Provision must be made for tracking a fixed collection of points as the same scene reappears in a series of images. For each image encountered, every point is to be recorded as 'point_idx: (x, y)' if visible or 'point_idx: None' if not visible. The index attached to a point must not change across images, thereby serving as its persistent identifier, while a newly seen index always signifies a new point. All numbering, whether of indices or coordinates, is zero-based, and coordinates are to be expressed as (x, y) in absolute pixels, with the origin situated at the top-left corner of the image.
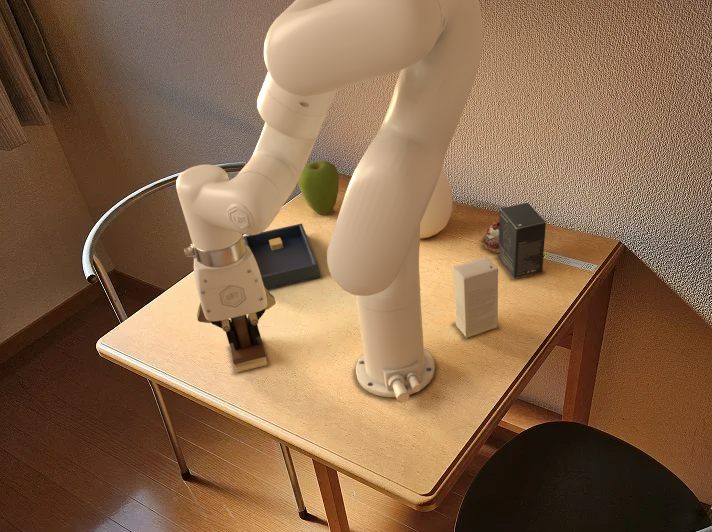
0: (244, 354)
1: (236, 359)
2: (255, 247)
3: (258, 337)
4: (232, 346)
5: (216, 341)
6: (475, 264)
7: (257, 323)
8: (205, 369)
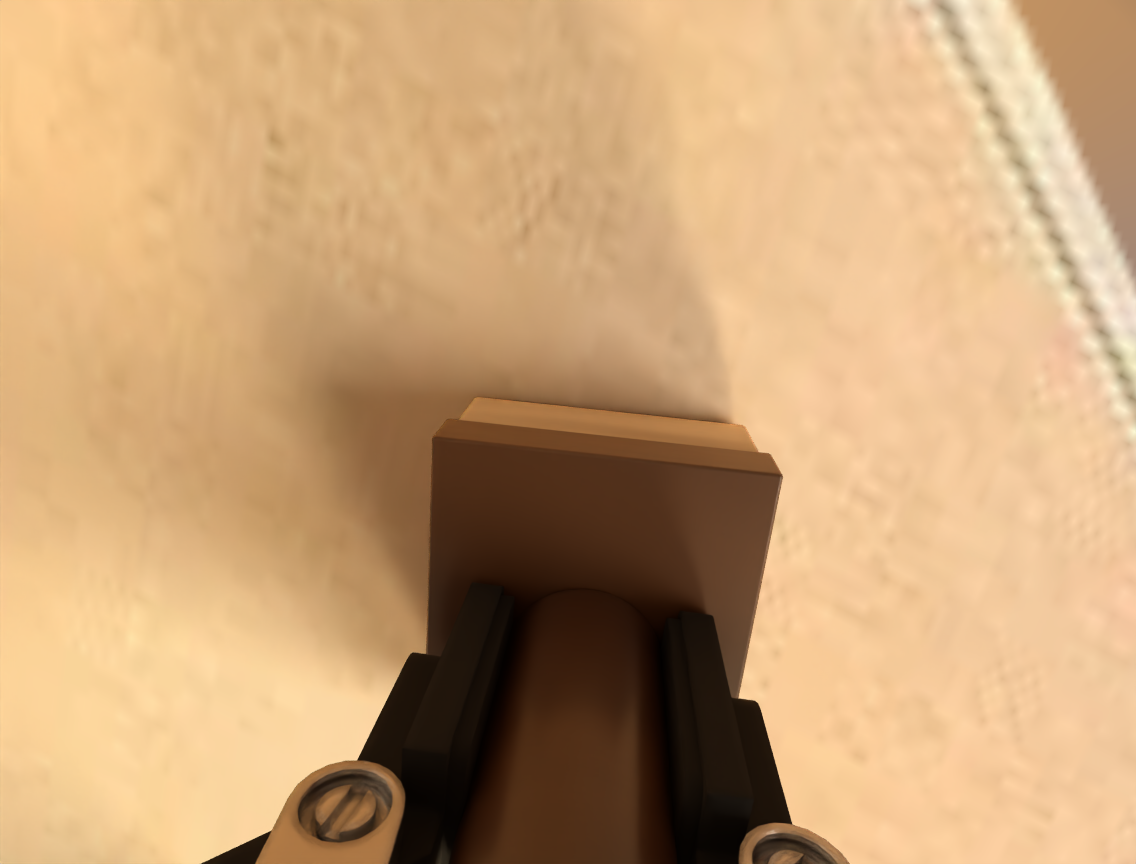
0: (641, 504)
1: (742, 471)
2: None
3: None
4: None
5: None
6: None
7: (328, 770)
8: (969, 594)
